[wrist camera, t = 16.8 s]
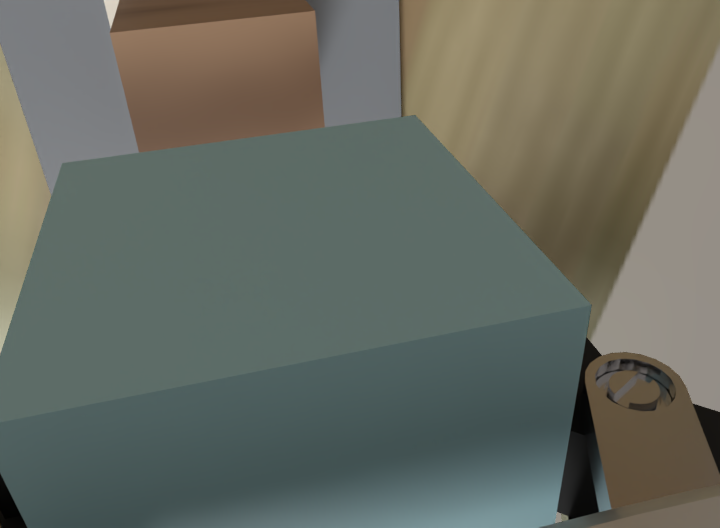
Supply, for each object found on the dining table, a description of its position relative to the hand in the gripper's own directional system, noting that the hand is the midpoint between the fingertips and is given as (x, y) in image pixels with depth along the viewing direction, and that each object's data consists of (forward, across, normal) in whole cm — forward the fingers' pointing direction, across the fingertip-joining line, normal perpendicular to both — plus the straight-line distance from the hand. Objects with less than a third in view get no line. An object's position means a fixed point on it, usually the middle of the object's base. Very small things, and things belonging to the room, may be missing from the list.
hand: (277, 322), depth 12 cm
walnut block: (+17, 0, 0) cm, 17 cm away
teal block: (+1, 0, 0) cm, 1 cm away
